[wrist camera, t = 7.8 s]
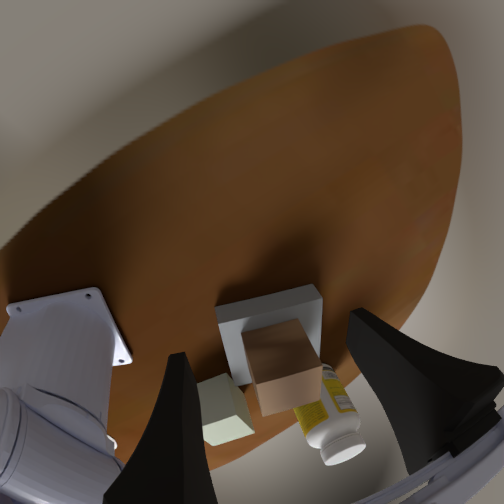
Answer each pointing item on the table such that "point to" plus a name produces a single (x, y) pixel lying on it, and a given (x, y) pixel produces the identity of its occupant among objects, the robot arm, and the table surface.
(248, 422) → the sage block
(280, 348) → the walnut block
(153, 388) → the table surface
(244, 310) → the slate slab
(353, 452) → the supplement bottle
